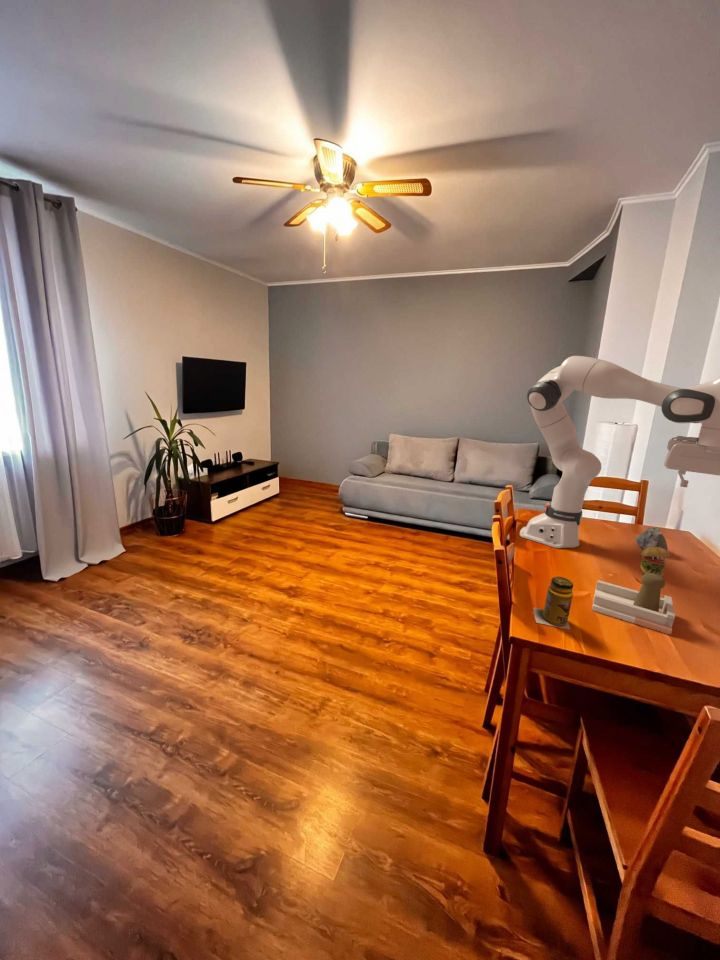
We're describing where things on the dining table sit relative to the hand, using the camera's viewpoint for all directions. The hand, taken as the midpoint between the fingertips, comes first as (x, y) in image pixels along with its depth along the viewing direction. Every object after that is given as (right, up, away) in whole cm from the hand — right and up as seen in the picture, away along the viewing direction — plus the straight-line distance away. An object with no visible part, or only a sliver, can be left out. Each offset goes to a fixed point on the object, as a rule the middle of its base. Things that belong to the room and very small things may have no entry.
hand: (705, 490), depth 104 cm
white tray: (-16, -35, +7) cm, 39 cm away
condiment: (-42, -36, +1) cm, 55 cm away
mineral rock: (+23, -25, +50) cm, 60 cm away
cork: (-13, -34, +4) cm, 37 cm away
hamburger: (+6, -30, +28) cm, 42 cm away
